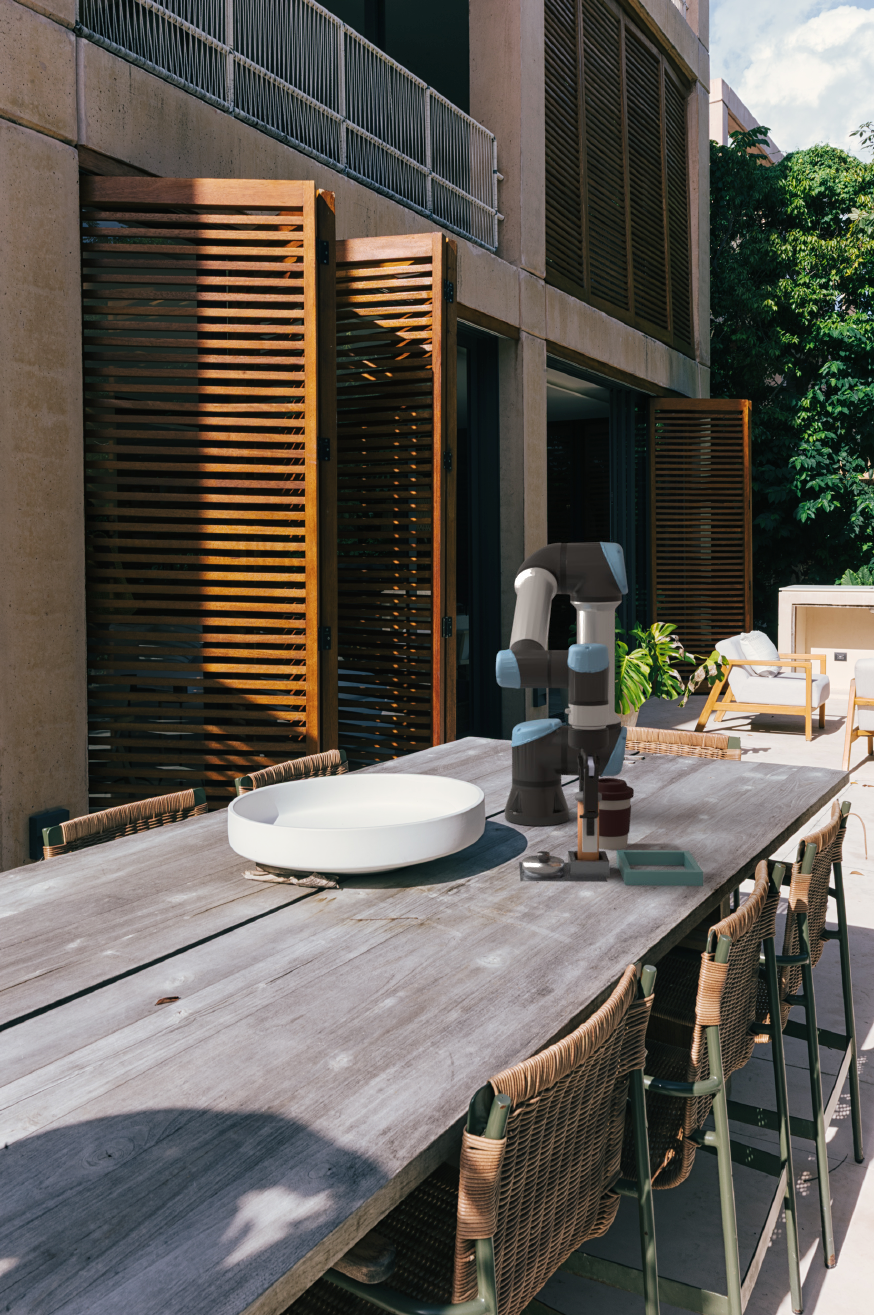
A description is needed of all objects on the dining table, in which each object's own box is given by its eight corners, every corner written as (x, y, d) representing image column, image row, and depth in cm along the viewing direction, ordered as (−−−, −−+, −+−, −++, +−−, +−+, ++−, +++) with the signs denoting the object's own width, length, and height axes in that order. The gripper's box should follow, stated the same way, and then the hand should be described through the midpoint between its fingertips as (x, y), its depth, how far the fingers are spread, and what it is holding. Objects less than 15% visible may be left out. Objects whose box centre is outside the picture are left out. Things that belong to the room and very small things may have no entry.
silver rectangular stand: (519, 869, 200) (519, 844, 200) (604, 870, 199) (604, 844, 199) (520, 888, 189) (520, 861, 188) (610, 889, 188) (610, 862, 187)
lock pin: (574, 867, 196) (574, 791, 195) (600, 867, 196) (600, 791, 195) (576, 875, 191) (576, 797, 190) (602, 875, 191) (603, 797, 190)
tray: (616, 870, 199) (616, 850, 199) (688, 870, 198) (688, 850, 198) (625, 892, 185) (625, 871, 185) (703, 893, 185) (703, 872, 184)
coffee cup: (633, 859, 206) (633, 786, 205) (583, 857, 208) (583, 785, 207) (633, 846, 216) (633, 776, 215) (586, 844, 218) (586, 775, 217)
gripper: (565, 718, 201) (565, 833, 203) (571, 734, 182) (571, 860, 184) (603, 718, 200) (603, 834, 202) (614, 734, 182) (613, 861, 184)
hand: (588, 846), depth 193 cm, fingers open, 6 cm apart
